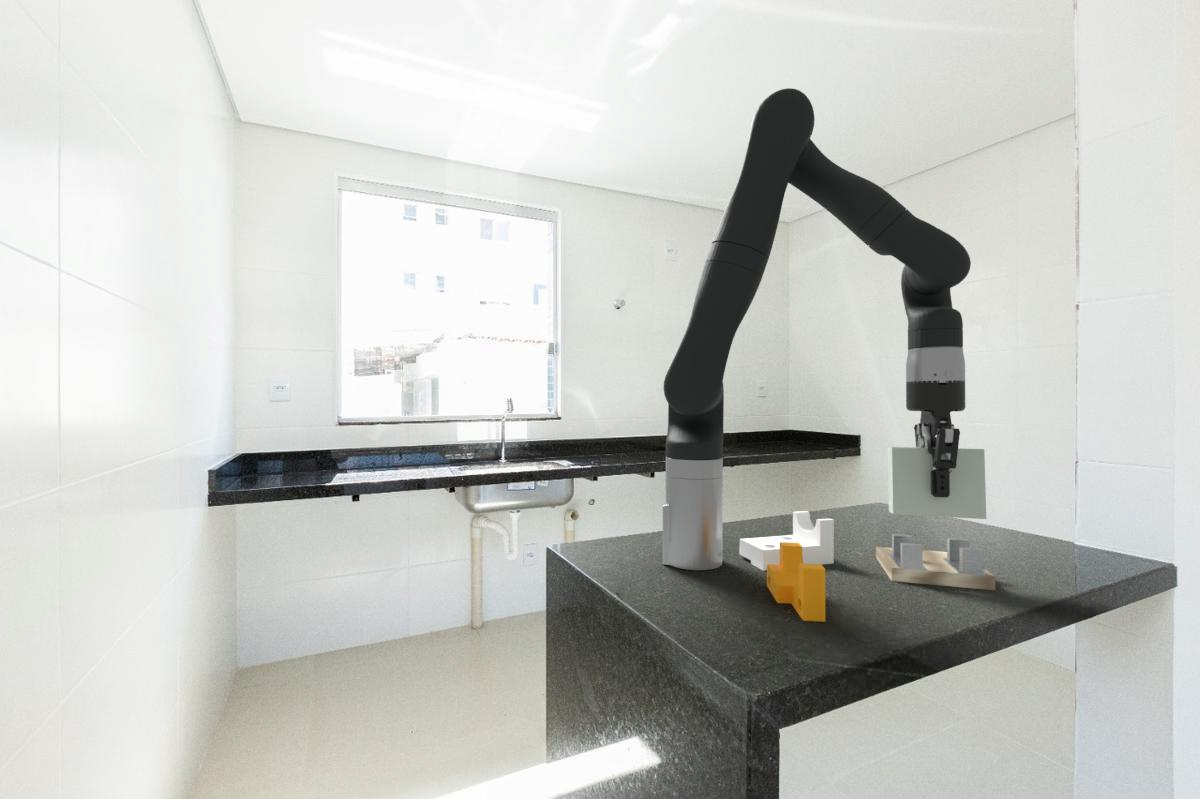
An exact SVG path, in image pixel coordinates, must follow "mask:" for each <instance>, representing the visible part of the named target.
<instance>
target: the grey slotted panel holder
mask: <svg viewBox="0 0 1200 799" xmlns="http://www.w3.org/2000/svg"><path fill="white" fill-rule="evenodd" d="M891 534H892V535H891V548H892V554H889V557H890V558H891V559H892V561H893V562H894V563H895V564H896V566H897V567H898V568H900V569H912V570H924V571H926V568H925V567H924V566H923V550H924V548H923V545H922V544H921V543H914V542H913V540H914V538H913V536H912V535H911V534H899V533H891ZM946 552H947V558H943V560H944V561H945V562H946V563H947V564H948V565H950V566H951V567H952V568H953V569H954V570H955V571H956V572H957V573H959V574H971V575H983V576H988V573H986V572H985V571H984V568H985V565H984V564H985V563H984V562H985V555H984V554H985V550H983V549H982V548H979V547H978V548H977V547H970V540H969V539H967V538H957V537H947V538H946Z"/></svg>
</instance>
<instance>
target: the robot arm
mask: <svg viewBox="0 0 1200 799" xmlns="http://www.w3.org/2000/svg"><path fill="white" fill-rule="evenodd" d="M750 124H751V125H750V132H749V137H748V140H747V146H746V151H745V154H744V158H743V163H742V166H741V170H740V172H739V175H738V179H737V182H736V185H735V186H734V189H733V191H732V193H731V195H730V198H729V200H728V202H727V204H726V206H725V209H724V211H723V214H722V216H721V218H720V221H719V223H718V226H717V229H716V232H715V233H714V237H713V239H712V241H711V244H710V248H709V250H708V252H707V256H706V259H705V261H704V266H703V269H702V272H701V276H700V279H699V283H698V286H697V290H696V294H695V298H694V302H693V306H692V311H691V315H690V319H689V322H688V326H687V328H686V330H685V333H684V335H683V336H682V337H683V338H682V340H681V342H680V344H679V347H678V349H677V351H676V353H675V355H674V357H673V360H672V362H671V363H670V366H669V368H668V370H667V371H666V375H665V377H664V381H663V394H664V397H665V400H666V402H667V404H668V408H667V409H668V412H667V415H668V416H667V434H666V439H665V503H663V506H662V565H667V566H671V567H674V568H678V569H681V570H682V569H683V570H689V571H708V570H709V571H710V570H715V569H718V568H720V567H721V566H722V565H723V554H724V551H723V526H724V525H723V523H724V522H723V521H724V520H723V515H724V514H723V511H724V510H723V502H724V500H723V498H724V496H723V493H724V492H723V491H724V490H723V488H724V487H723V486H724V485H723V483H724V482H723V480H724V479H723V477H724V476H723V473H724V472H723V470H724V469H723V468H724V466H723V461H724V459H723V458H724V457H723V456H724V415H725V414H724V413H725V412H724V408H725V407H724V405H725V403H724V402H725V399H724V397H725V396H724V392H725V391H724V382H723V380H724V375H725V372H726V368H727V363H728V359H729V354H730V350H731V348H732V344H733V341H734V338H735V336H736V333H737V331H738V329H739V327H740V325H741V323H742V321H743V319H744V318H745V316H746V314H747V312H748V310H749V308H750V306H751V304H752V303H753V300H754V299H755V296H756V294H757V291H758V290H759V287H760V285H761V281H762V279H763V276H764V272H765V270H766V267H767V264H768V261H769V259H770V256H771V253H772V248H773V244H774V241H775V237H776V233H777V230H778V226H779V221H780V215H781V211H782V208H783V207H782V206H783V201H784V197H785V194H786V190H787V187H788V184H790V185H791V186H793V187H794V188H796V189H797V190H799V191H800V192H801V193H803V194H805V195H806V196H807V197H809V198H810V199H811V200H813V201H814V202H816V203H817V204H818V205H820V206H821V207H822V208H823V209H825V211H828V212H829V213H830V214H831V215H832V216H833V217H835V219H837V220H838V221H839V222H840V223H841V224H843V225H844V226H845V227H846V228H847V229H848V230H850V232H852V233H853V234H854V235H855V236H856V237H857V238H858V239H859V240H860V241H862V242H863V243H864V244H865V245H866V246H868V248H870V249H871V250H872V251H873V252H875V253H876V254H877V255H879V256H892V257H894V258H895V259H896V260H898V261H899V262H901V263H902V264H903V265H904V266H903V268H902V271H901V272H902V273H901V276H900V277H901V279H900V280H901V281H900V284H901V293H902V294H901V296H902V299H903V304H904V305H903V306H904V310H905V315H906V317H907V357H906V363H905V394H906V395H905V399H906V400H905V402H906V403H905V405H906V406H905V407H906V410H908V411H910V412H920V413H921V414H920V421H919V422H918V423H917V424H916V423H915V424H914V427H913V429H914V437H915V448H925V452H926V454H927V455H929V456H930V468H931V494H932V495H933V496H934V497H949V495H950V472H948V471H952V468H954V469H955V468H956V465H957V464H956V462H957V453H958V448H959V443H960V435H961V431H960V429H959V428H955V424H953V422H952V419H951V417H952V416H951V412H963V411H964V410H965V409H966V361H965V354H964V348H963V347H964V341H963V340H964V326H963V316H962V313H961V312H960V311H959V310H957V309H955V308H953V303H952V295H951V294H952V293H951V288H953V287H956V286H957V285H959V284H960V283H961V282H963V281H964V280H965V279H966V278H967V276H968V275H969V272H970V269H971V264H972V261H971V258H970V255H969V252H968V251H967V249H966V247H964V245H963V244H962V243H961V242H960V241H959V240H957V239H956V238H955V237H954V236H952V235H950V234H949V233H947V232H945V231H943V230H942V229H940V228H938V227H936V226H934V225H933V224H931V223H929V222H927V221H925V220H923V219H920V218H919V217H917V216H915V215H914V214H913V213H912V212H910V210H908V209H907V207H905V206H904V205H903V204H901V203H900V201H898V200H897V199H896V198H894V196H893V195H891V194H890V193H889V192H888V191H886V190H885V189H884V188H882V187H881V186H880V185H878V184H876V183H874V182H873V181H871V180H868V179H866V178H864V177H862V176H860V175H857V174H855V173H853V172H850V171H848V170H847V169H845V168H842V167H841V166H840V165H838V164H836V163H835V162H833V160H831V159H829V158H828V157H827V156H826V155H825V154H824V153H823V152H822V151H821V150H820V148H819V147H817V145H816V144H815V143H814V141H813V140H811V137H812V135H813V132H814V127H815V112H814V108H813V104H812V103H811V100H810V98H809V97H808V96H807V95H806V94H805V93H804V92H802V91H801V90H799V89H796V88H782V89H779V90H776V91H775V92H772V93H771V94H770V95H768V96H767V97H766V98H765V99H764V100H763V101H762V102H761V103H760V104H759V106H758V108H757V109H756V110H755V112H754V114H753V117H752V121H751V123H750ZM934 448H935V449H934ZM941 455H943V456H944V457H945V460H942V459H941Z"/></svg>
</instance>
